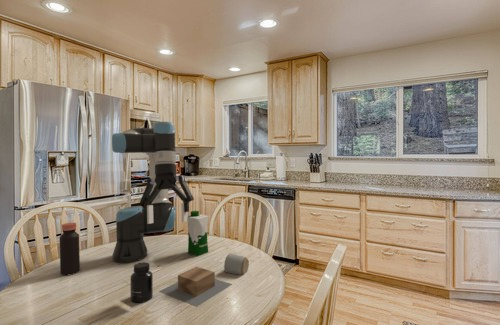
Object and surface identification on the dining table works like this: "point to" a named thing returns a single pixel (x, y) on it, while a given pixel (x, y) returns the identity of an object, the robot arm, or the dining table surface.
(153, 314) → the dining table surface
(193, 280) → the walnut block
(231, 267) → the ceramic mug
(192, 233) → the milk carton
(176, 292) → the mat
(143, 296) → the supplement bottle
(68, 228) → the vinegar
